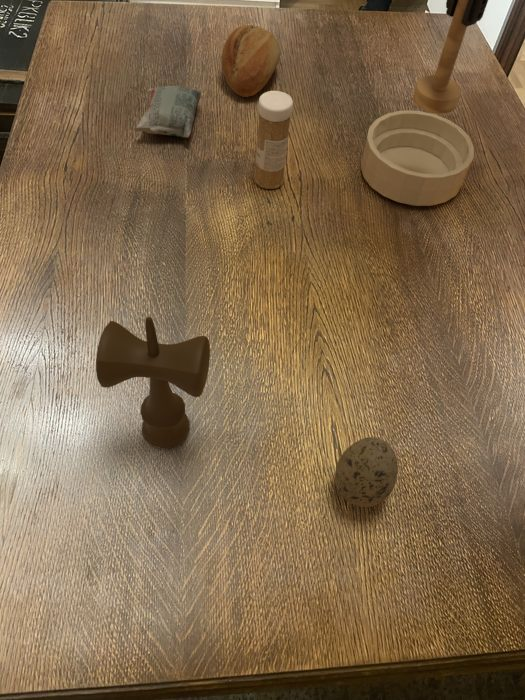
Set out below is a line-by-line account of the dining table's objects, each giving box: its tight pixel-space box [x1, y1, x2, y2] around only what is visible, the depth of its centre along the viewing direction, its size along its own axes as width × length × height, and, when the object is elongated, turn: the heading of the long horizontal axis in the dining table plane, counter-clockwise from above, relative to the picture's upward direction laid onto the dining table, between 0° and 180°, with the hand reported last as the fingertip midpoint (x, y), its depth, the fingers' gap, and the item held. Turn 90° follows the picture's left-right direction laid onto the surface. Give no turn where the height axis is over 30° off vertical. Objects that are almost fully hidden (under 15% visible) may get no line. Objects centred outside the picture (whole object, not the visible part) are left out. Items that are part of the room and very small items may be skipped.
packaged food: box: [133, 85, 202, 139], centre depth 95 cm, size 9×12×5 cm
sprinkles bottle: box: [253, 90, 294, 190], centre depth 85 cm, size 5×5×13 cm
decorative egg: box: [334, 436, 399, 508], centre depth 59 cm, size 6×6×10 cm
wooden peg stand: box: [412, 0, 468, 115], centre depth 76 cm, size 6×6×16 cm
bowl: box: [360, 110, 475, 207], centre depth 91 cm, size 16×16×6 cm
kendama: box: [95, 316, 211, 449], centre depth 58 cm, size 6×10×20 cm, turn 83°
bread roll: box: [220, 24, 282, 98], centre depth 103 cm, size 10×15×8 cm, turn 168°
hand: (461, 18), depth 73 cm, fingers closed on wooden peg stand
